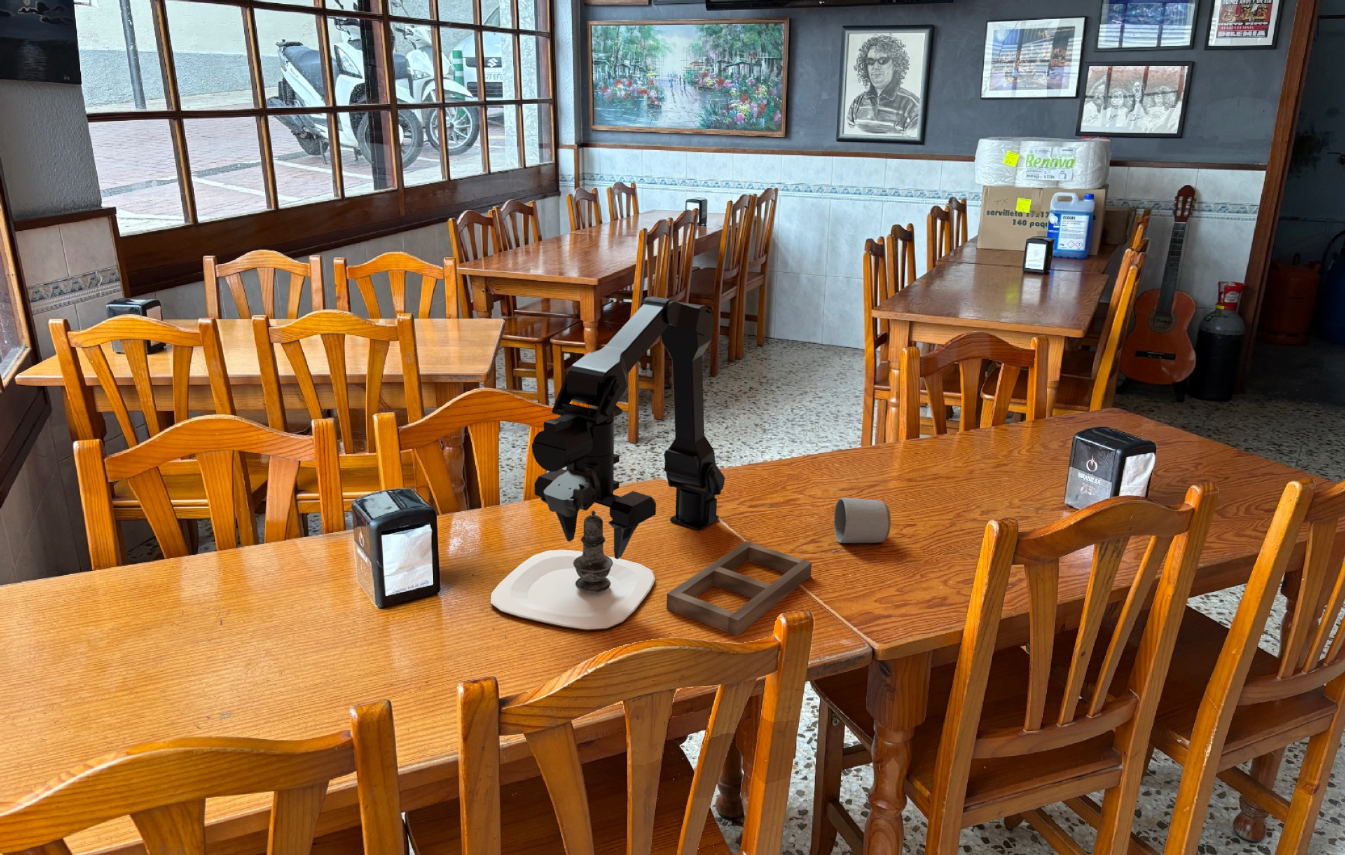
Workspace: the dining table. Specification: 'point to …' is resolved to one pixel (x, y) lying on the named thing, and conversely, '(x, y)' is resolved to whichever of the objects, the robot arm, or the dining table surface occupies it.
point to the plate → (571, 592)
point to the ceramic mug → (861, 521)
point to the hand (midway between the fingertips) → (593, 549)
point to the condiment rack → (739, 587)
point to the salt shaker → (593, 558)
